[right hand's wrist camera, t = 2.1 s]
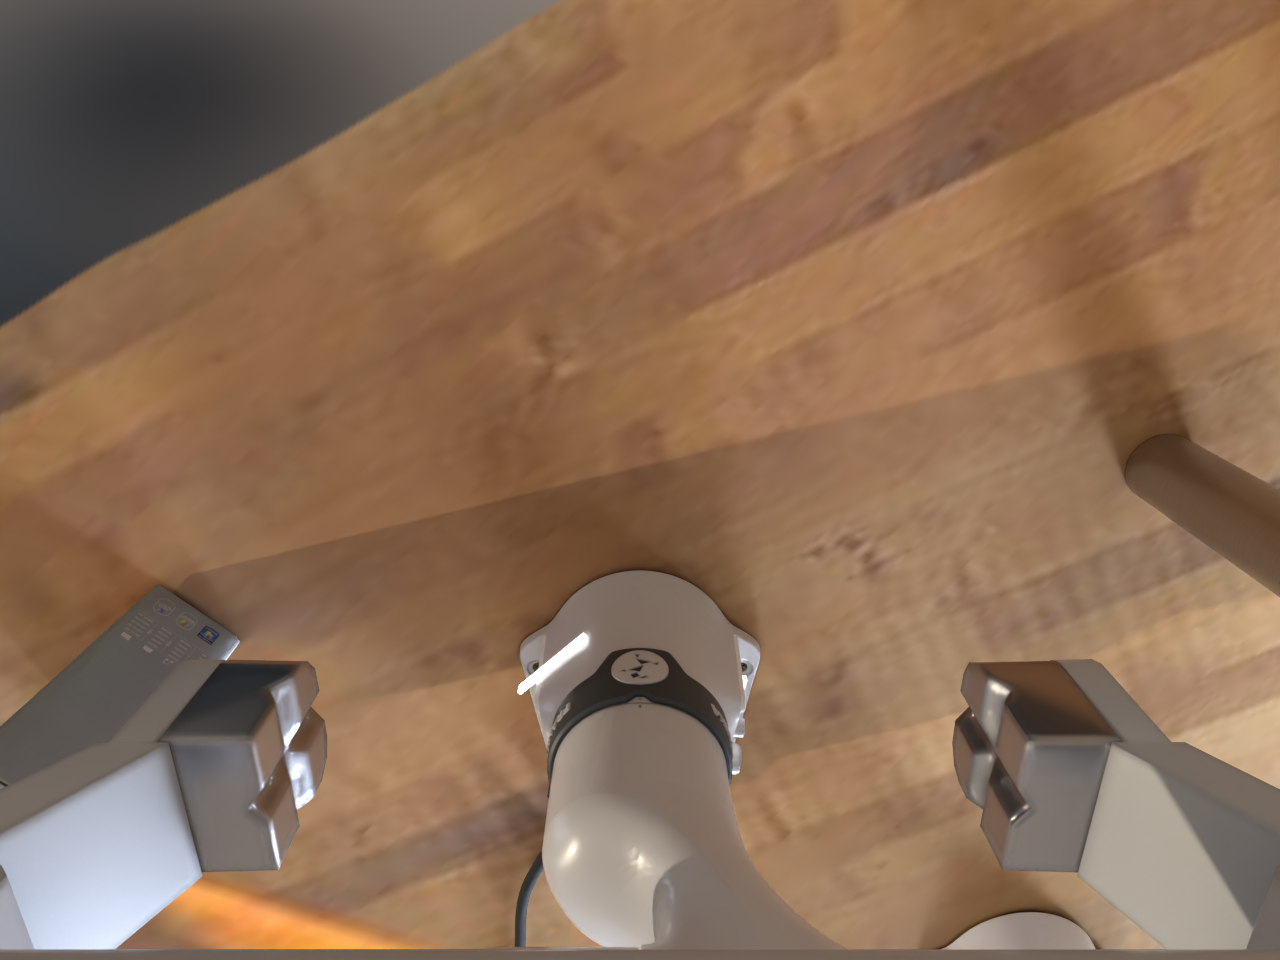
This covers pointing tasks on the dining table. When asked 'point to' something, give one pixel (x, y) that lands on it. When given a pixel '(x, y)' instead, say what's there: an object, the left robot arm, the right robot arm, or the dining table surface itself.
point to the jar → (1212, 502)
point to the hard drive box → (109, 682)
